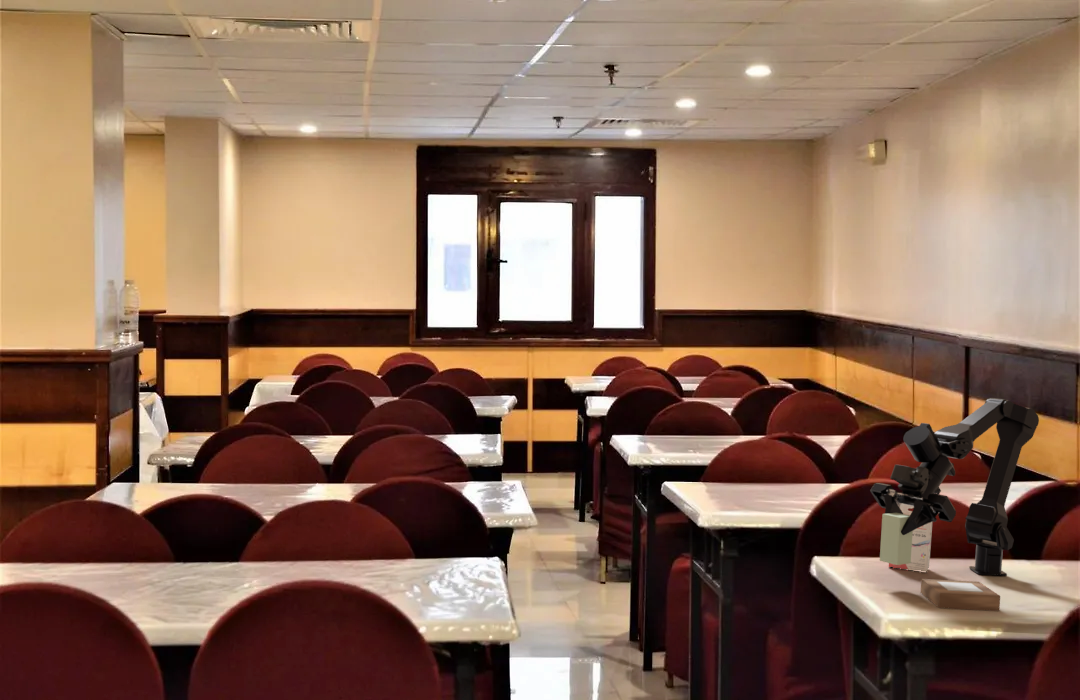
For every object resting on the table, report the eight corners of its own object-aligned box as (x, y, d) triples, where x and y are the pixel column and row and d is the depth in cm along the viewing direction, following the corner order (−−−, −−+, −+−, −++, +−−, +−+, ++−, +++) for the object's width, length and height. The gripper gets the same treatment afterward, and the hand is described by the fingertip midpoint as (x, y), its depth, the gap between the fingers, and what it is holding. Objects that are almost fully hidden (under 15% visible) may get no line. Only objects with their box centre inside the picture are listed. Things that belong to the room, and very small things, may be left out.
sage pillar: (879, 560, 257) (882, 513, 257) (893, 558, 260) (896, 512, 259) (897, 565, 254) (899, 517, 253) (910, 563, 256) (913, 516, 256)
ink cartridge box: (887, 568, 276) (891, 504, 275) (891, 564, 280) (895, 501, 280) (927, 573, 272) (931, 508, 272) (929, 569, 277) (933, 505, 276)
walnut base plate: (920, 593, 253) (921, 578, 253) (978, 595, 253) (979, 581, 253) (938, 607, 241) (940, 592, 241) (999, 610, 241) (1000, 595, 241)
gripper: (878, 446, 265) (841, 499, 260) (951, 457, 250) (914, 514, 244) (899, 479, 270) (863, 532, 264) (971, 493, 255) (935, 549, 249)
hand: (892, 531), depth 256 cm, fingers closed on sage pillar, 4 cm apart
